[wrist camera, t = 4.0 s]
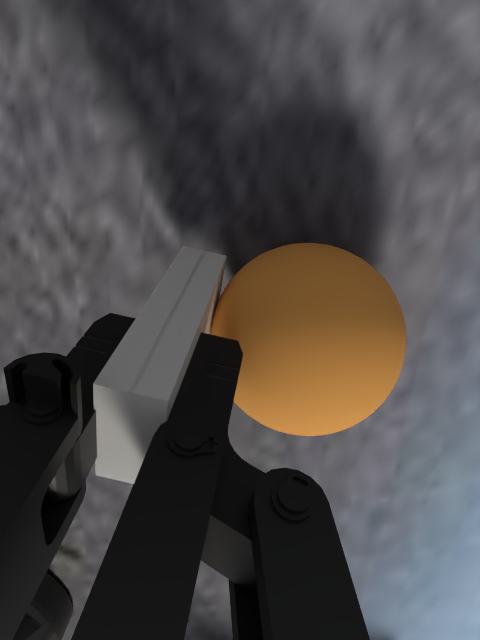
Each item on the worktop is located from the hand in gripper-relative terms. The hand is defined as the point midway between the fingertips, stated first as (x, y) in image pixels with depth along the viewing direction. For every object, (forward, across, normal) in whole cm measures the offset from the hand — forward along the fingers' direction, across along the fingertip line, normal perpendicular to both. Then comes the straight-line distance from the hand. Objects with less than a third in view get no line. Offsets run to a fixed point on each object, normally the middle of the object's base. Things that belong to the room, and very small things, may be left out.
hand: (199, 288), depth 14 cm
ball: (-1, -4, 0) cm, 4 cm away
